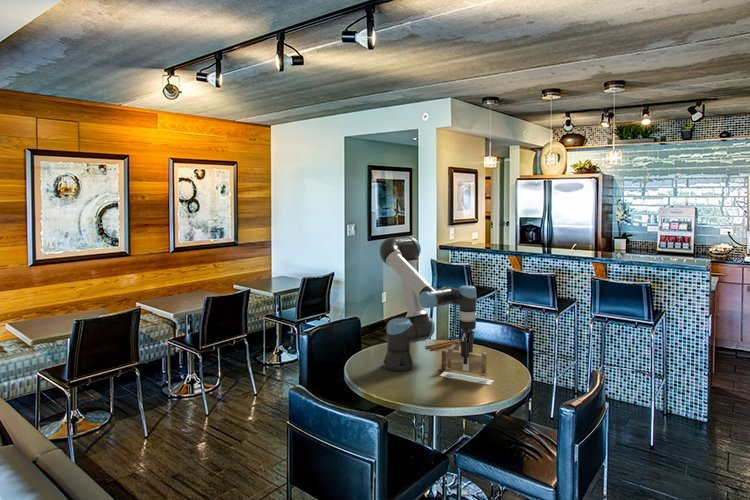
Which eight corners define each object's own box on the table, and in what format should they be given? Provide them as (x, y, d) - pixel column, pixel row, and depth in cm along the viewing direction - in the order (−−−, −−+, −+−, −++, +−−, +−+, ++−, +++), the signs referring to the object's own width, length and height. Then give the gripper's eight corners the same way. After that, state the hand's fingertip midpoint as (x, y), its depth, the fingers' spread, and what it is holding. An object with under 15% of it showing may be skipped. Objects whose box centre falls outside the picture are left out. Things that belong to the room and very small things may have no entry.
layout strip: (439, 376, 234) (439, 375, 234) (444, 372, 239) (444, 371, 239) (490, 385, 222) (490, 384, 222) (493, 381, 227) (493, 380, 227)
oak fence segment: (485, 376, 223) (485, 354, 222) (445, 369, 233) (445, 349, 232) (488, 373, 227) (488, 352, 226) (448, 367, 236) (449, 346, 235)
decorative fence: (422, 348, 280) (434, 352, 271) (422, 344, 279) (434, 349, 271) (455, 341, 294) (467, 345, 286) (455, 337, 294) (467, 341, 285)
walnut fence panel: (438, 370, 241) (438, 350, 240) (453, 358, 259) (453, 340, 258) (446, 372, 239) (447, 352, 238) (461, 360, 257) (461, 341, 256)
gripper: (470, 324, 219) (469, 376, 222) (480, 317, 232) (479, 366, 235) (454, 322, 223) (453, 373, 225) (464, 315, 236) (464, 363, 238)
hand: (466, 369), depth 230 cm, fingers closed on oak fence segment, 2 cm apart
